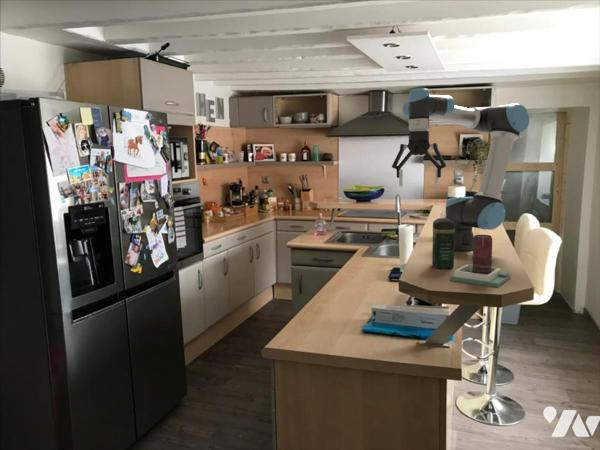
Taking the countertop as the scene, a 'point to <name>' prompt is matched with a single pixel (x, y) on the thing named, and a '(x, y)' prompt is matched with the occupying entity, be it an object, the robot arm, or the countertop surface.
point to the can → (482, 254)
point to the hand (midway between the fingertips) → (418, 186)
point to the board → (480, 276)
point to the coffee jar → (443, 243)
